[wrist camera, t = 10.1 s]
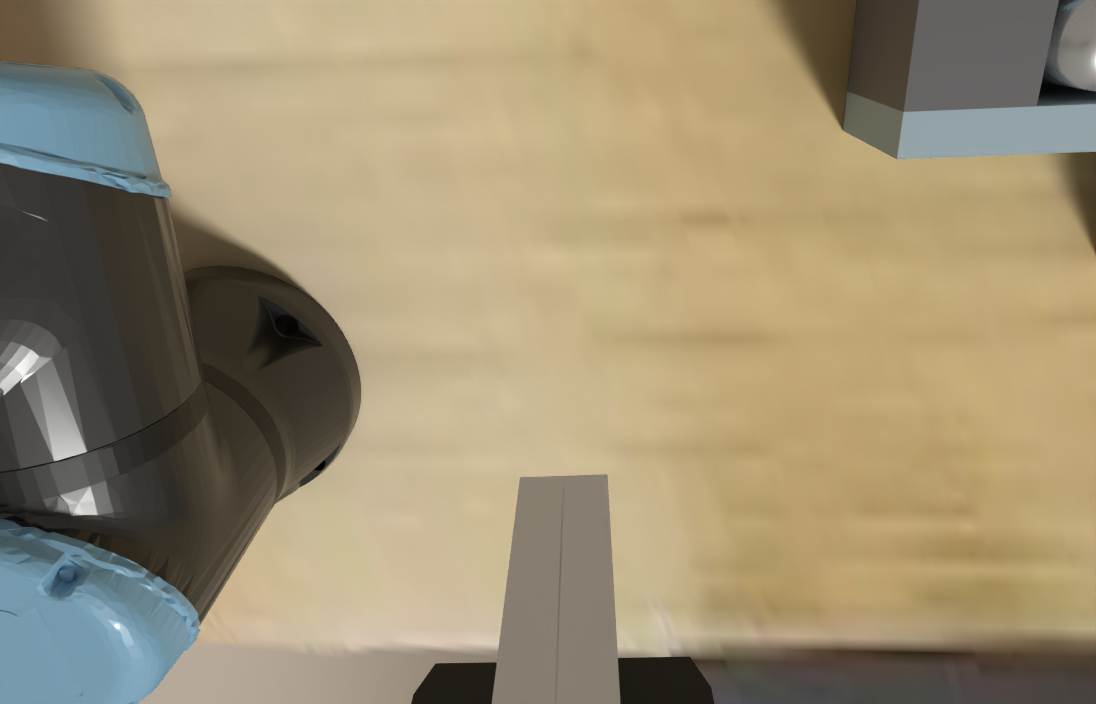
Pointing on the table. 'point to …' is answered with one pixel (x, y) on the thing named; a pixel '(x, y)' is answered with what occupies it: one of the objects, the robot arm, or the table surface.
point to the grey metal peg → (1073, 46)
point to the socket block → (961, 81)
